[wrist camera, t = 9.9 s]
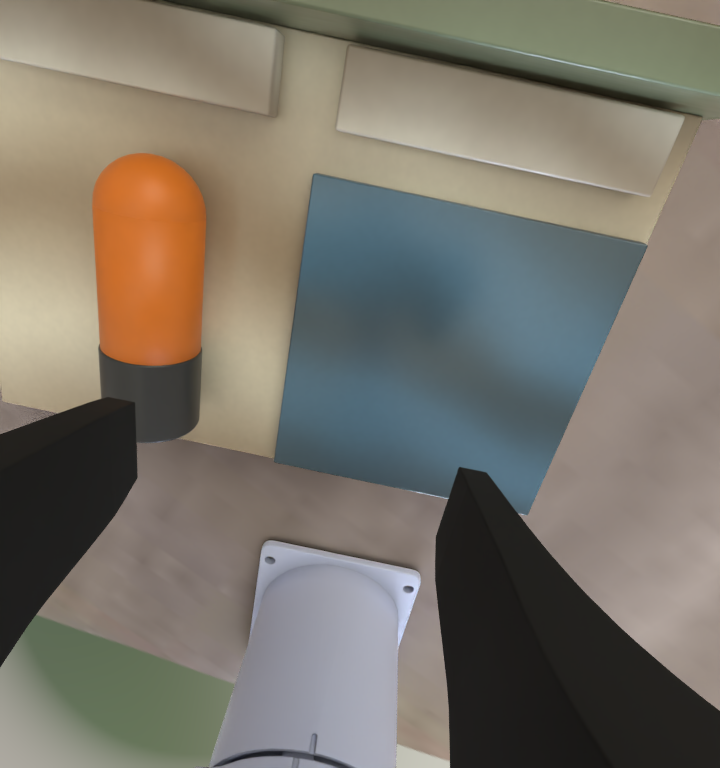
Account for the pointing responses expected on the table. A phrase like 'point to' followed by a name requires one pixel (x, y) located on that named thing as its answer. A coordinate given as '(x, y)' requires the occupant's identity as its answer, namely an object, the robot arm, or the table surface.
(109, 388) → the orange capsule container
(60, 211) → the bed
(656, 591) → the table surface
